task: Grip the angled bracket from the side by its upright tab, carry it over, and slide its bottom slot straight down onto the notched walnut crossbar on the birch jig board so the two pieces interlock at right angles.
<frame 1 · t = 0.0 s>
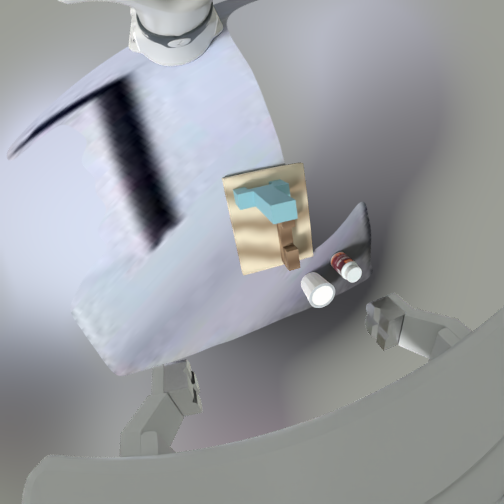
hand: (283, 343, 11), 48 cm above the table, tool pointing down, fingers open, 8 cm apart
pill bottle: (337, 259, 70), on the table
angled bracket: (258, 191, 56), point 1 cm above the table, touching jig board
white cup: (310, 281, 71), on the table
jig board: (270, 218, 61), on the table
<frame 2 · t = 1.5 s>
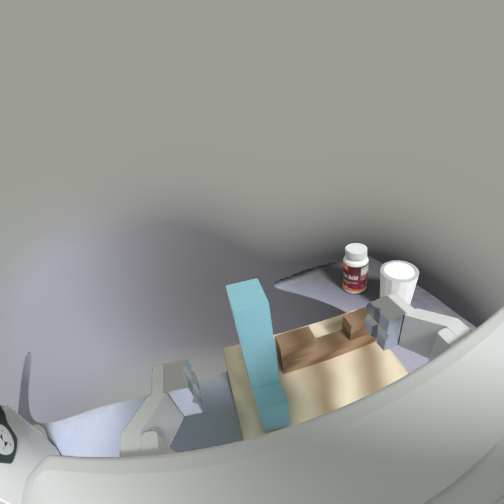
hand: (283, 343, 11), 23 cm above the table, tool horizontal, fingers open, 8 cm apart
pill bottle: (354, 288, 51), on the table
angled bracket: (266, 396, 31), point 1 cm above the table, touching jig board
white cup: (394, 304, 44), on the table
jig board: (314, 375, 35), on the table
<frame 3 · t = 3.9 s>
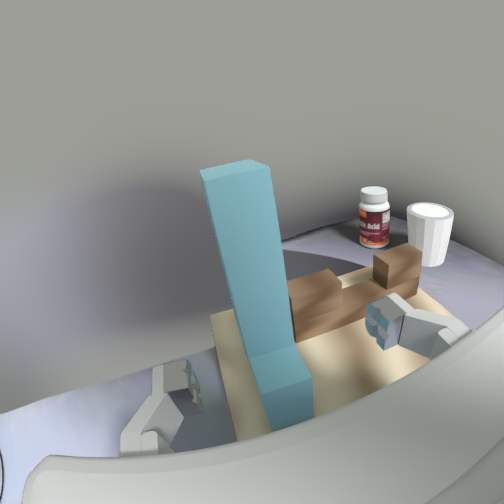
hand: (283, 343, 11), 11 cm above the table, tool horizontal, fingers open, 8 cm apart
pill bottle: (374, 243, 41), on the table
angled bracket: (273, 376, 21), point 1 cm above the table, touching jig board
white cup: (426, 257, 34), on the table
jig board: (340, 344, 24), on the table
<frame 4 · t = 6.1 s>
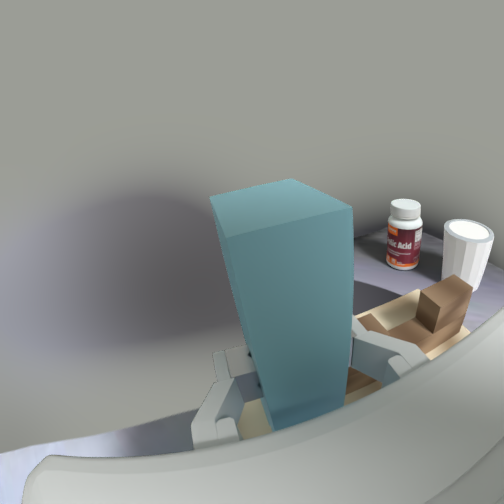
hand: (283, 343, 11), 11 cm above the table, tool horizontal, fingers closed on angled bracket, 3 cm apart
pill bottle: (402, 263, 34), on the table
angled bracket: (301, 446, 15), point 2 cm above the table, touching gripper, jig board
white cup: (460, 281, 28), on the table
jig board: (376, 398, 18), on the table
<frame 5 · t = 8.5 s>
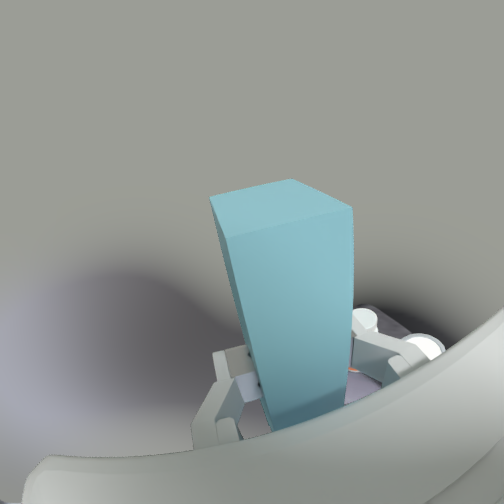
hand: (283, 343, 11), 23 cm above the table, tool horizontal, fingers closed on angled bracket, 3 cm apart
pill bottle: (356, 361, 36), on the table
angled bracket: (301, 447, 15), point 14 cm above the table, touching gripper
white cup: (408, 387, 30), on the table
when the fingers open (12 cm above the table, at t = 11.1 s): angled bracket stays where it is, resting on jig board.
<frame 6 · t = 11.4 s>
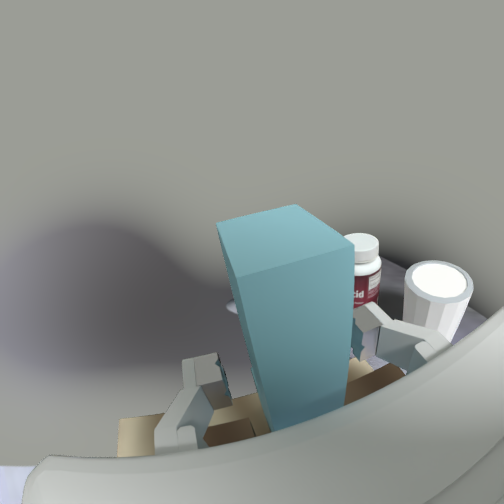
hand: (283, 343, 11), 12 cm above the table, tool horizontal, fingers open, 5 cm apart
pill bottle: (357, 309, 30), on the table
angled bracket: (301, 452, 15), point 2 cm above the table, touching jig board
white cup: (425, 337, 23), on the table
jig board: (269, 492, 14), on the table
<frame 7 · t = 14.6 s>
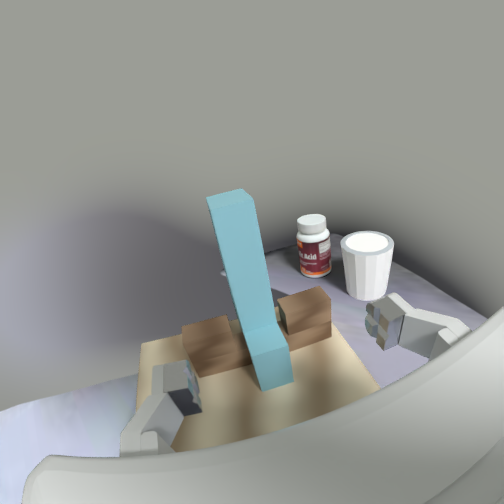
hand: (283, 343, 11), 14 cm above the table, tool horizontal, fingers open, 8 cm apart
pill bottle: (316, 271, 42), on the table
angled bracket: (263, 351, 28), point 1 cm above the table, touching jig board
white cup: (366, 289, 36), on the table
jig board: (242, 382, 26), on the table
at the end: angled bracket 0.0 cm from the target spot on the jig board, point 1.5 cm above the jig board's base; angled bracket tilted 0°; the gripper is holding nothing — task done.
